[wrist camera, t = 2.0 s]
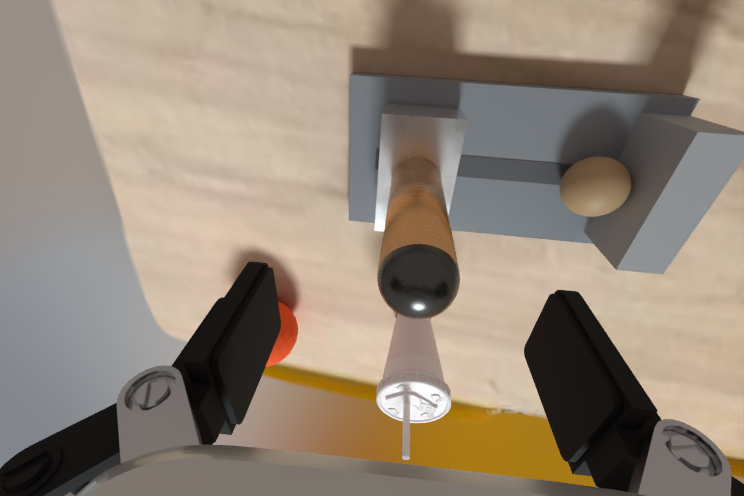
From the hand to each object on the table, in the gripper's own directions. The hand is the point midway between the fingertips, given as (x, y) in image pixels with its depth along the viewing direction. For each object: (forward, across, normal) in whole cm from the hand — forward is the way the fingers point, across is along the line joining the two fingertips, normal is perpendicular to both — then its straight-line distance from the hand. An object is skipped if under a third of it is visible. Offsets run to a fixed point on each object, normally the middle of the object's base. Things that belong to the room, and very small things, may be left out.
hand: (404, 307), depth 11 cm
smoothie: (+17, -3, +18) cm, 25 cm away
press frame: (+17, -7, 0) cm, 18 cm away
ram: (+15, -1, 0) cm, 15 cm away
